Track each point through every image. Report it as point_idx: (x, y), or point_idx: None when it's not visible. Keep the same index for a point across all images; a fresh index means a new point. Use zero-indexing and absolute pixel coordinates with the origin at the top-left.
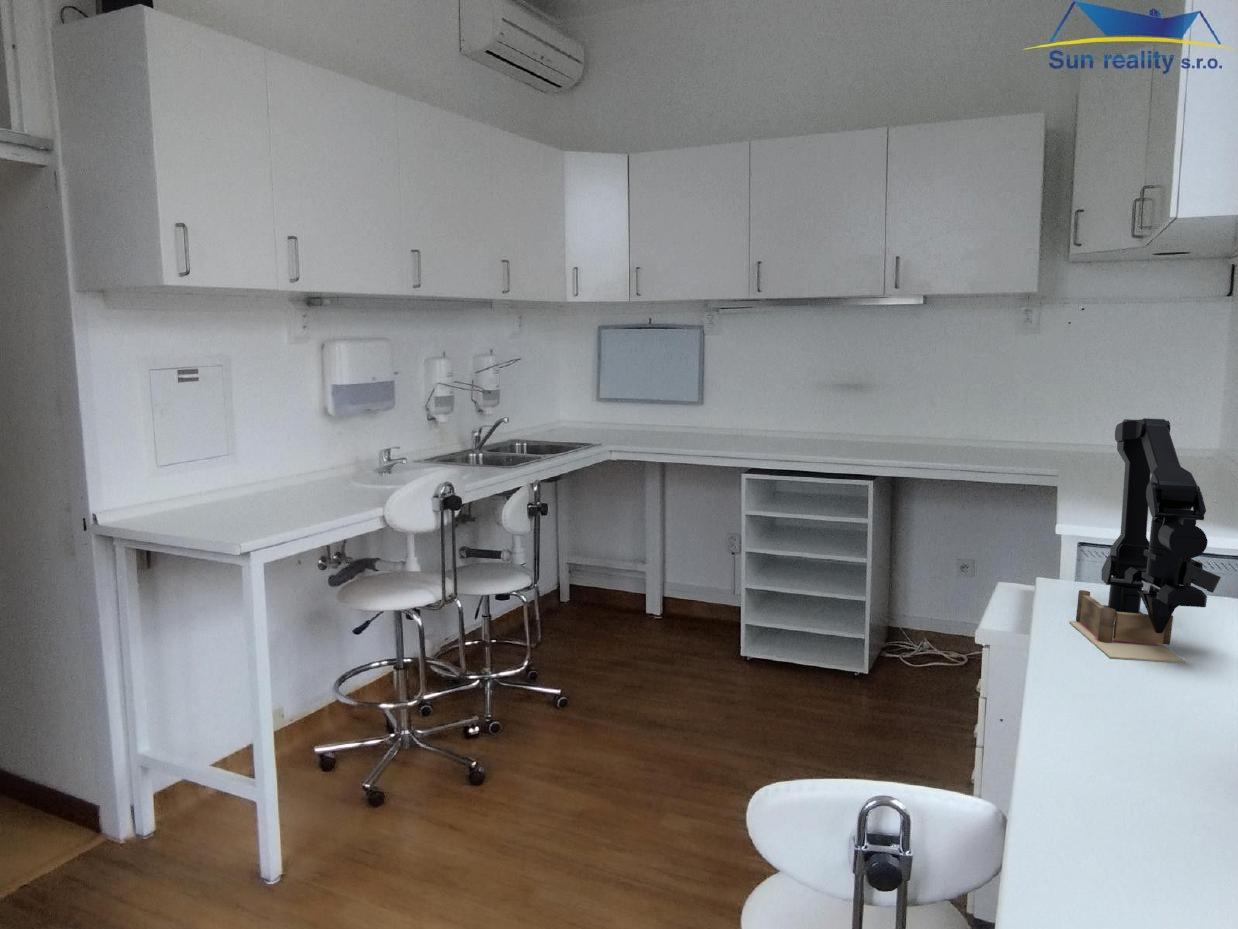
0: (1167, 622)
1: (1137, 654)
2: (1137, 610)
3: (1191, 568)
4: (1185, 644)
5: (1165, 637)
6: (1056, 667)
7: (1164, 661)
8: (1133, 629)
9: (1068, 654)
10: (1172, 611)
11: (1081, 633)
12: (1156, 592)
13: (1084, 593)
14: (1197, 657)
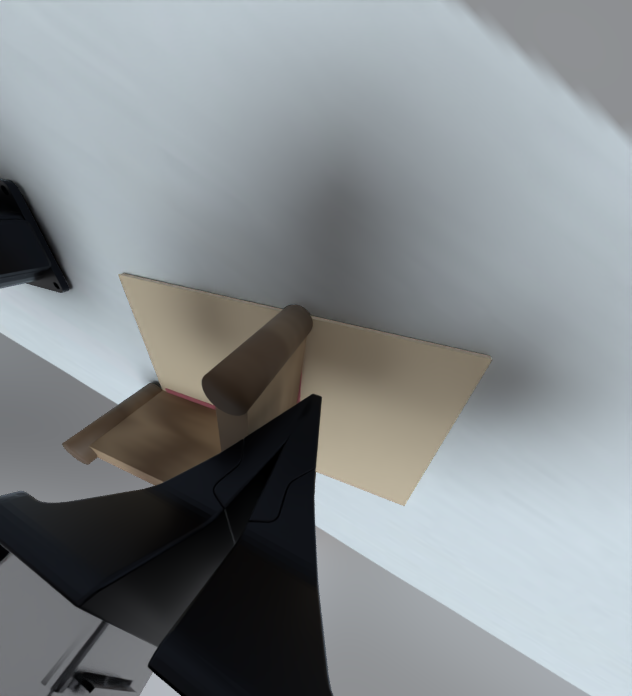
0: (317, 440)
1: (391, 448)
2: (4, 228)
3: None
4: (245, 191)
5: (299, 344)
6: (444, 588)
7: (456, 416)
8: None
9: (372, 533)
10: (313, 526)
11: None
12: (137, 656)
13: (90, 461)
14: (420, 248)
